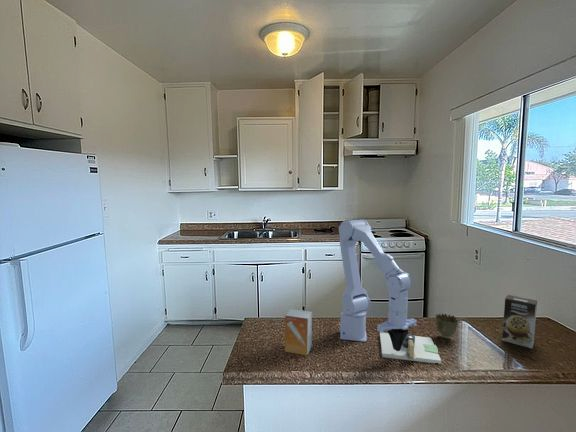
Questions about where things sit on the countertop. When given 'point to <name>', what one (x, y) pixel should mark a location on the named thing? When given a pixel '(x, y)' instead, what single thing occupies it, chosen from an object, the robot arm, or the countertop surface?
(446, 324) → the olive rounded piece
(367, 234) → the robot arm
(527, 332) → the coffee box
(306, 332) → the small box
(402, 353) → the dial board
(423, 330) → the countertop surface
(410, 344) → the grey and tan piece
